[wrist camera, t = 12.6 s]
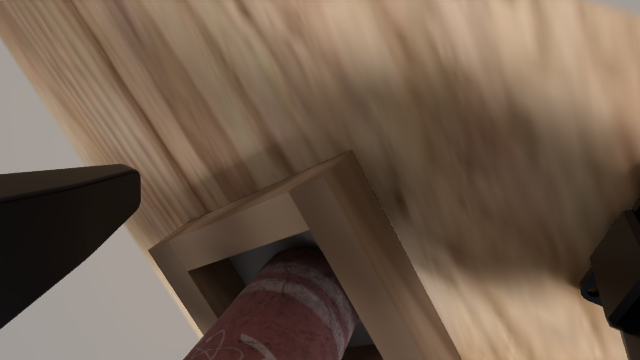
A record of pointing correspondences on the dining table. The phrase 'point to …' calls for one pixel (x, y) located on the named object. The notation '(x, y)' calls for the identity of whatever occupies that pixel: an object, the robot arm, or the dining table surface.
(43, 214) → the robot arm
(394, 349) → the collar
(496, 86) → the dining table surface
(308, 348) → the can
